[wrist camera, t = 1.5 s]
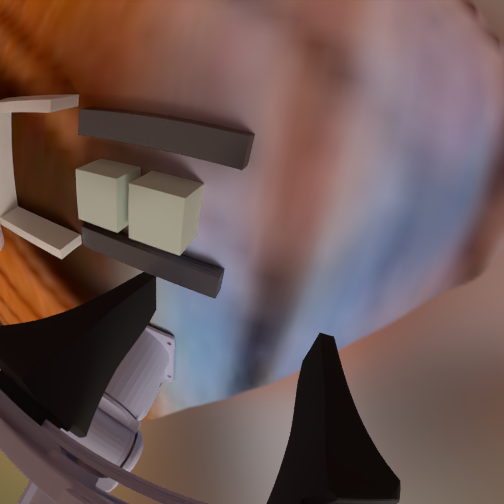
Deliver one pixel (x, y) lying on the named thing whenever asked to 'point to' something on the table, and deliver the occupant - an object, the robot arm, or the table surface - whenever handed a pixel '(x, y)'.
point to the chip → (105, 193)
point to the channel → (176, 141)
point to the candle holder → (1, 239)
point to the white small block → (164, 211)
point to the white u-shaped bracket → (3, 185)
